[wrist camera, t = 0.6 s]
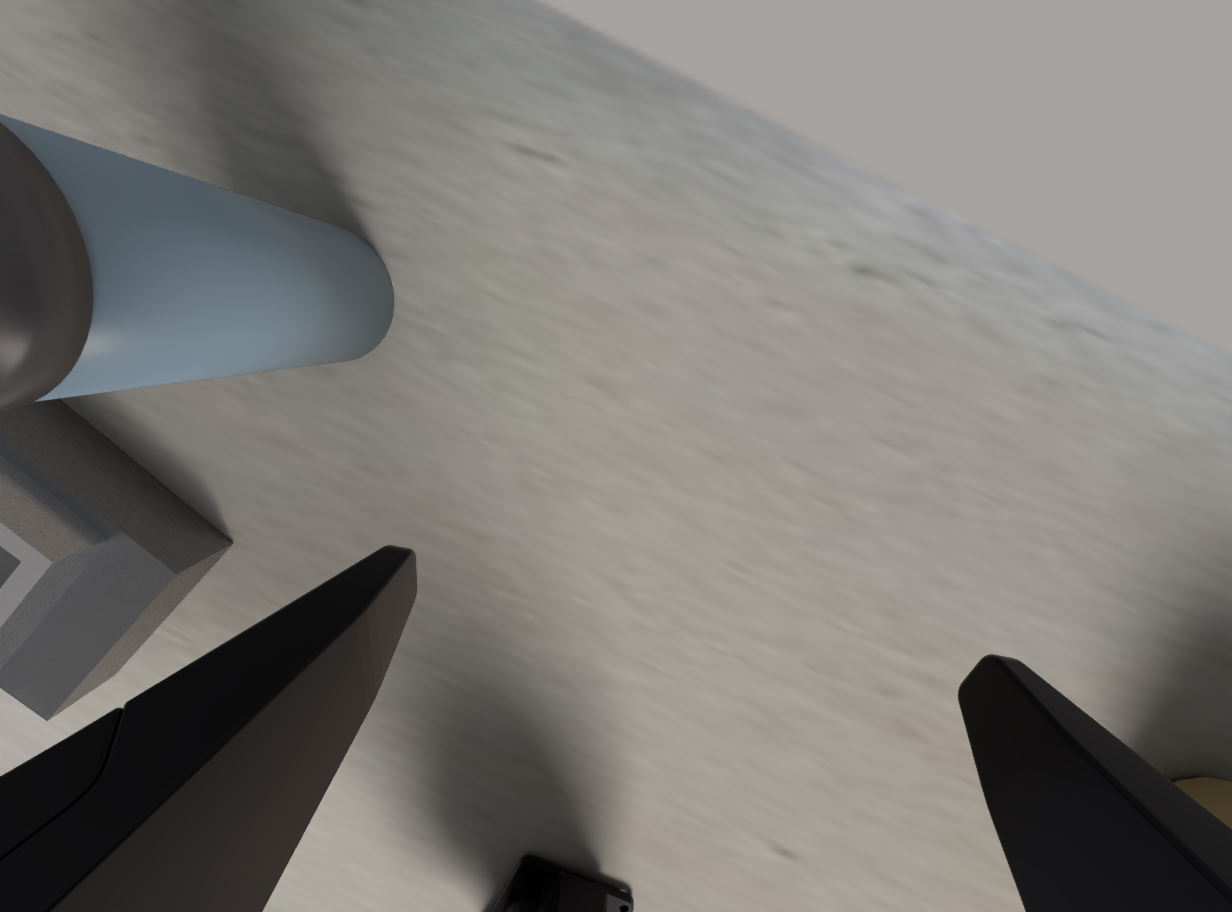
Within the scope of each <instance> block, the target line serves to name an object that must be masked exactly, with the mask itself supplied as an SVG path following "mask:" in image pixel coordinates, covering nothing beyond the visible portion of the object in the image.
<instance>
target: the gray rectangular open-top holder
mask: <svg viewBox="0 0 1232 912" xmlns="http://www.w3.org/2000/svg"><path fill="white" fill-rule="evenodd" d="M232 544H233V543H232V542H231V541H230V540H229V539H227V538H226V537H225V536H224V535H222V534H221V533H220V532H219V531H218V530H216V529H215V528H214V527H213V526H212V525H210V524H209V523H208V522H207V521H206V520H204V519H203V518H202V517H201V516H199V515H198V514H197V513H196V512H195V511H193V510H192V509H191V508H190V507H189V506H187V505H186V504H185V503H184V502H183V501H181V500H180V499H179V498H178V497H177V496H175V495H174V494H173V493H172V492H170V491H169V490H168V489H167V488H166V487H164V486H163V485H162V484H161V483H160V482H158V481H157V480H156V479H155V478H154V477H152V476H151V475H150V474H149V473H147V472H146V471H145V470H144V469H143V468H141V467H140V466H139V465H138V464H137V463H135V462H134V461H133V460H132V459H131V458H129V457H128V456H127V455H126V454H125V453H123V452H122V451H121V450H120V449H118V448H117V447H116V446H115V445H114V444H112V443H111V442H110V441H109V440H108V439H106V438H105V437H104V436H103V435H102V434H100V433H99V432H98V431H97V430H95V429H94V428H93V427H92V426H91V425H89V424H88V423H87V422H86V421H85V420H83V419H82V418H81V417H80V416H79V415H77V414H76V413H75V412H74V411H73V410H71V409H70V408H69V407H68V406H66V405H65V404H64V403H63V402H62V401H60V400H59V399H51V400H43V401H35V402H33V403H30V404H27V405H25V406H22V407H19V408H16V409H11V410H6V411H1V412H0V688H1V689H3V690H4V691H6V692H7V693H8V694H10V695H11V696H13V697H14V698H15V699H17V700H18V701H20V702H21V703H22V704H24V705H25V706H27V707H28V708H29V709H31V710H32V711H34V712H35V713H36V714H38V715H39V716H41V717H42V718H44V719H45V720H46V721H48V720H50V719H51V718H52V717H54V716H55V715H57V714H58V713H60V712H61V711H63V710H64V709H66V708H67V707H69V706H70V705H72V704H73V703H74V702H76V701H77V700H79V699H80V698H82V697H83V696H85V695H86V694H88V693H89V692H91V691H92V690H94V689H95V688H97V687H98V686H99V685H101V684H102V683H104V682H105V681H107V680H108V679H110V678H111V677H113V676H114V675H115V674H116V673H117V672H118V671H119V670H120V669H121V667H122V666H123V665H124V664H125V663H126V662H127V661H128V660H129V659H130V657H131V656H132V655H133V654H134V653H135V652H136V651H137V650H138V649H139V647H140V646H141V645H142V644H143V643H144V642H145V641H146V640H147V639H148V637H149V636H150V635H151V634H152V633H153V632H154V631H155V630H156V629H157V627H158V626H159V625H160V624H161V623H162V622H163V621H164V620H165V619H166V617H167V616H168V615H169V614H170V613H171V612H172V611H173V610H174V609H175V607H176V606H177V605H178V604H179V603H180V602H181V601H182V600H183V599H184V597H185V596H186V595H187V594H188V593H189V592H190V591H191V590H192V589H193V587H194V586H195V585H196V584H197V583H198V582H199V581H200V580H201V579H202V577H203V576H204V575H205V574H206V573H207V572H208V571H209V570H210V569H211V567H212V566H213V565H214V564H215V563H216V562H217V561H218V560H219V559H220V557H221V556H222V555H223V554H224V553H225V552H226V551H227V550H228V549H229V547H230V546H231V545H232Z"/></svg>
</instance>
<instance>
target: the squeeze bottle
mask: <svg viewBox="0 0 1232 912" xmlns="http://www.w3.org/2000/svg"><path fill="white" fill-rule="evenodd" d="M1174 784H1176V785H1177V786H1178V787H1179V788H1181V789H1182V790H1183V791H1184V792H1186V793H1187V794H1188V795H1189V796H1191V797H1192V798H1193V799H1194V800H1196V801H1197V802H1198V803H1199V804H1201V805H1202V806H1203V807H1205V808H1206V809H1207V810H1208V811H1210V812H1211V813H1212V814H1213V815H1215V816H1216V817H1217V818H1218V819H1220V820H1221V821H1222V822H1223V823H1225V824H1226V825H1227V826H1228V827H1230V828H1231V829H1232V782H1230V781H1227V780H1221V779H1216V778H1210V777H1199V778H1192V779H1185V780H1179V781H1177V782H1174Z"/></svg>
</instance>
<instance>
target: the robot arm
mask: <svg viewBox="0 0 1232 912" xmlns="http://www.w3.org/2000/svg"><path fill="white" fill-rule="evenodd" d="M416 593H417V570H416V555H415V552H414V551H413V550H412V549H410V548H404V547H398V546H393V545H387V546H384V547H382V548H381V549H379V550H377V551H376V552H374V553H372V554H371V555H369V556H367V557H366V558H364V559H362V560H361V561H359V562H357V563H356V564H354V565H352V566H351V567H349V568H348V569H346V570H344V571H343V572H341V573H339V574H338V575H336V576H334V577H333V578H331V579H329V580H328V581H326V582H324V583H323V584H321V585H319V586H318V587H316V588H314V589H313V590H311V591H310V592H308V593H306V594H305V595H303V596H301V597H300V598H298V599H296V600H295V601H293V602H291V603H290V604H288V605H286V606H285V607H283V608H281V609H280V610H278V611H276V612H275V613H273V614H272V615H270V616H268V617H267V618H265V619H263V620H262V621H260V622H258V623H257V624H255V625H253V626H252V627H250V628H248V629H247V630H245V631H243V632H242V633H240V634H238V635H237V636H235V637H233V638H232V639H230V640H229V641H227V642H225V643H224V644H222V645H220V646H219V647H217V648H215V649H214V650H212V651H210V652H209V653H207V654H205V655H204V656H202V657H200V658H199V659H197V660H195V661H194V662H192V663H191V664H189V665H187V666H186V667H184V668H182V669H181V670H179V671H177V672H176V673H174V674H172V675H171V676H169V677H167V678H166V679H164V680H162V681H161V682H159V683H157V684H156V685H154V686H153V687H151V688H149V689H148V690H146V691H144V692H143V693H141V694H139V695H138V696H136V697H134V698H133V699H131V700H129V701H128V702H126V704H125V705H124V707H123V709H122V708H116V709H114V710H112V711H111V712H109V713H107V714H106V715H104V716H102V717H101V718H99V719H98V720H96V721H94V722H93V723H91V724H89V725H88V726H86V727H84V728H83V729H81V730H79V731H78V732H76V733H74V734H73V735H71V736H69V737H67V738H66V739H64V740H62V741H61V742H59V743H57V744H55V745H54V746H52V747H50V748H49V749H47V750H45V751H43V752H42V753H40V754H38V755H37V756H35V757H33V758H31V759H30V760H28V761H26V762H25V763H23V764H21V765H19V766H18V767H16V768H14V769H13V770H11V771H9V772H7V773H5V774H4V775H2V776H0V912H262V911H263V909H264V907H265V905H266V904H267V902H268V900H269V898H270V896H271V894H272V892H273V890H274V889H275V887H276V885H277V883H278V881H279V879H280V877H281V875H282V873H283V872H284V870H285V868H286V866H287V864H288V862H289V860H290V858H291V857H292V855H293V853H294V851H295V849H296V847H297V845H298V843H299V841H300V840H301V838H302V836H303V834H304V832H305V830H306V828H307V826H308V825H309V823H310V821H311V819H312V817H313V815H314V813H315V811H316V809H317V808H318V806H319V804H320V802H321V800H322V798H323V796H324V794H325V793H326V791H327V789H328V787H329V785H330V783H331V781H332V779H333V777H334V776H335V774H336V772H337V770H338V768H339V766H340V764H341V762H342V761H343V759H344V757H345V755H346V753H347V751H348V749H349V747H350V745H351V744H352V742H353V740H354V738H355V736H356V734H357V732H358V730H359V728H360V727H361V725H362V723H363V721H364V719H365V717H366V715H367V713H368V712H369V710H370V708H371V706H372V703H373V701H374V699H375V697H376V695H377V693H378V691H379V688H380V686H381V684H382V681H383V679H384V676H385V674H386V671H387V669H388V666H389V664H390V661H391V659H392V656H393V654H394V651H395V649H396V646H397V644H398V641H399V639H400V636H401V634H402V631H403V629H404V626H405V624H406V621H407V619H408V616H409V614H410V611H411V609H412V606H413V604H414V601H415V598H416ZM958 700H959V705H960V708H961V712H962V716H963V720H964V723H965V727H966V731H967V735H968V738H969V742H970V746H971V749H972V753H973V757H974V761H975V764H976V768H977V772H978V775H979V779H980V783H981V787H982V790H983V793H984V797H985V800H986V804H987V806H988V809H989V812H990V815H991V818H992V821H993V824H994V827H995V829H996V832H997V835H998V837H999V840H1000V843H1001V846H1002V848H1003V851H1004V854H1005V856H1006V859H1007V862H1008V865H1009V867H1010V870H1011V873H1012V876H1013V878H1014V881H1015V884H1016V886H1017V889H1018V892H1019V895H1020V897H1021V900H1022V903H1023V905H1024V908H1025V911H1026V912H1232V829H1231V828H1230V827H1228V826H1227V825H1226V824H1225V823H1223V822H1222V821H1221V820H1220V819H1218V818H1217V817H1216V816H1215V815H1213V814H1212V813H1211V812H1210V811H1208V810H1207V809H1206V808H1205V807H1203V806H1202V805H1201V804H1199V803H1198V802H1197V801H1196V800H1194V799H1193V798H1192V797H1191V796H1189V795H1188V794H1187V793H1186V792H1184V791H1183V790H1182V789H1181V788H1179V787H1178V786H1177V785H1176V784H1174V783H1173V782H1172V781H1171V780H1169V779H1168V778H1167V777H1166V776H1164V775H1163V774H1162V773H1160V772H1159V771H1158V770H1157V769H1155V768H1154V767H1153V766H1152V765H1150V764H1149V763H1148V762H1147V761H1145V760H1144V759H1143V758H1142V757H1140V756H1139V755H1138V754H1137V753H1135V752H1134V751H1133V750H1132V749H1130V748H1129V747H1128V746H1127V745H1125V744H1124V743H1123V742H1121V741H1120V740H1119V739H1118V738H1116V737H1115V736H1114V735H1113V734H1111V733H1110V732H1109V731H1108V730H1106V729H1105V728H1104V727H1103V726H1101V725H1100V724H1099V723H1098V722H1096V721H1095V720H1094V719H1093V718H1091V717H1090V716H1089V715H1088V714H1086V713H1085V712H1084V711H1082V710H1081V709H1080V708H1079V707H1077V706H1076V705H1075V704H1074V703H1072V702H1071V701H1070V700H1069V699H1067V698H1066V697H1065V696H1064V695H1062V694H1061V693H1060V692H1059V691H1057V690H1056V689H1055V688H1054V687H1052V686H1051V685H1050V684H1049V683H1047V682H1046V681H1045V680H1043V679H1042V678H1041V677H1040V676H1038V675H1037V674H1036V673H1035V672H1033V671H1032V670H1031V669H1030V668H1028V667H1027V666H1026V665H1025V664H1023V663H1022V662H1021V661H1019V660H1017V659H1014V658H1010V657H1004V656H999V655H993V654H991V655H987V656H984V657H983V658H982V659H981V660H980V661H979V662H978V664H977V665H976V666H975V667H974V668H973V670H972V671H971V672H970V673H969V675H968V676H967V677H966V678H965V679H964V681H963V682H962V683H961V685H960V687H959V690H958ZM633 910H634V901H633V898H632V896H631V895H629V894H627V893H624V892H622V891H619V890H617V889H614V888H612V887H609V886H607V885H604V884H602V883H599V882H597V881H594V880H592V879H589V878H587V877H584V876H582V875H579V874H577V873H574V872H572V871H569V870H566V869H564V868H561V867H559V866H556V865H554V864H551V863H549V862H546V861H544V860H541V859H539V858H536V857H534V856H530V855H527V856H524V857H522V858H521V859H520V861H519V863H518V864H517V866H516V868H515V870H514V872H513V873H512V875H511V877H510V879H509V880H508V882H507V884H506V886H505V887H504V889H503V891H502V893H501V894H500V896H499V898H498V900H497V901H496V903H495V905H494V907H493V909H492V910H491V912H633Z"/></svg>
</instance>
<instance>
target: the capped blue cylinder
mask: <svg viewBox="0 0 1232 912" xmlns="http://www.w3.org/2000/svg"><path fill="white" fill-rule="evenodd" d="M393 311H394V293H393V286H392V283H391V279H390V276H389V274H388V271H387V269H386V267H385V265H384V263H383V262H382V260H381V259H380V257H379V256H378V254H377V253H376V252H375V251H374V250H373V248H372V247H371V246H370V245H369V244H367V243H366V242H365V241H364V240H363V239H361V238H360V237H359V236H357V235H356V234H354V233H352V232H350V231H348V230H346V229H343V228H340V227H338V226H335V225H332V224H329V223H326V222H323V221H320V220H317V219H314V218H311V217H308V216H305V215H302V214H299V213H296V212H293V211H290V210H287V209H284V208H281V207H278V206H275V205H272V204H269V203H266V202H263V201H260V200H256V199H253V198H250V197H247V196H244V195H241V194H238V193H235V192H232V191H229V190H226V189H223V188H220V187H217V186H214V185H211V184H208V183H205V182H202V181H199V180H196V179H193V178H190V177H187V176H184V175H181V174H178V173H175V172H172V171H169V170H166V169H163V168H160V167H157V166H154V165H151V164H148V163H145V162H142V161H139V160H136V159H133V158H130V157H127V156H124V155H121V154H118V153H115V152H112V151H109V150H106V149H103V148H100V147H97V146H94V145H91V144H88V143H85V142H82V141H79V140H76V139H73V138H70V137H67V136H64V135H61V134H58V133H55V132H52V131H49V130H46V129H43V128H40V127H37V126H34V125H31V124H28V123H25V122H22V121H19V120H16V119H13V118H10V117H7V116H4V115H1V114H0V412H1V411H6V410H11V409H16V408H19V407H22V406H25V405H27V404H30V403H33V402H35V401H43V400H51V399H58V398H66V397H74V396H82V395H89V394H97V393H105V392H112V391H120V390H128V389H135V388H143V387H151V386H159V385H166V384H174V383H182V382H189V381H197V380H205V379H213V378H220V377H228V376H236V375H243V374H251V373H259V372H266V371H274V370H282V369H290V368H297V367H305V366H313V365H320V364H328V363H336V362H343V361H349V360H354V359H356V358H359V357H362V356H363V355H365V354H367V353H369V352H370V351H371V350H373V349H374V348H375V347H376V346H377V345H378V344H379V343H380V342H381V341H382V339H383V338H384V337H385V335H386V333H387V331H388V329H389V327H390V324H391V321H392V317H393Z"/></svg>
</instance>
